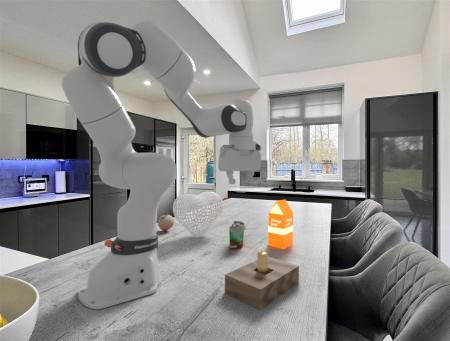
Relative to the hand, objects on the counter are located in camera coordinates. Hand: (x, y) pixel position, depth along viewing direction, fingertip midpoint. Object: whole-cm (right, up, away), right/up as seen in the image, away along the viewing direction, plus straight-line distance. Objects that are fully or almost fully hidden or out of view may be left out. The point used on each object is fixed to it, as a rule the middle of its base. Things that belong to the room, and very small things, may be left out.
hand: (240, 183), depth 91 cm
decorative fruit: (-37, -28, +42) cm, 63 cm away
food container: (0, -29, +18) cm, 34 cm away
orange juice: (+19, -29, +21) cm, 40 cm away
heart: (-19, -28, +32) cm, 46 cm away
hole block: (+5, -29, -19) cm, 35 cm away
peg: (+5, -29, -19) cm, 35 cm away
